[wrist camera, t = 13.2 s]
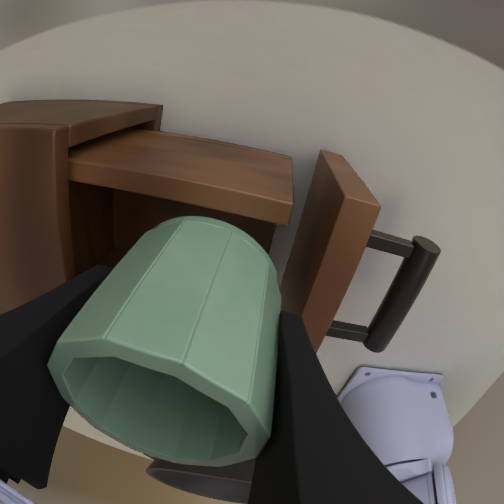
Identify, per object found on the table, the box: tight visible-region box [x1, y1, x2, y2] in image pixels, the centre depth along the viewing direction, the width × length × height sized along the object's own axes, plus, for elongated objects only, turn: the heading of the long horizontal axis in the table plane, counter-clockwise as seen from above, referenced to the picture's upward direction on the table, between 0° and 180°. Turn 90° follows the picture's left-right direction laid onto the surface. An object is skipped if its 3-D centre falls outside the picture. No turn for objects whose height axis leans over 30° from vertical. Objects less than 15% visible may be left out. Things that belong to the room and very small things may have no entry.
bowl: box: [146, 458, 256, 504], centre depth 31 cm, size 12×22×6 cm, turn 82°
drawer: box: [68, 128, 441, 353], centre depth 14 cm, size 17×9×7 cm, turn 79°
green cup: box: [47, 216, 281, 467], centre depth 8 cm, size 5×5×6 cm
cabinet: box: [0, 100, 163, 315], centre depth 14 cm, size 14×11×9 cm
